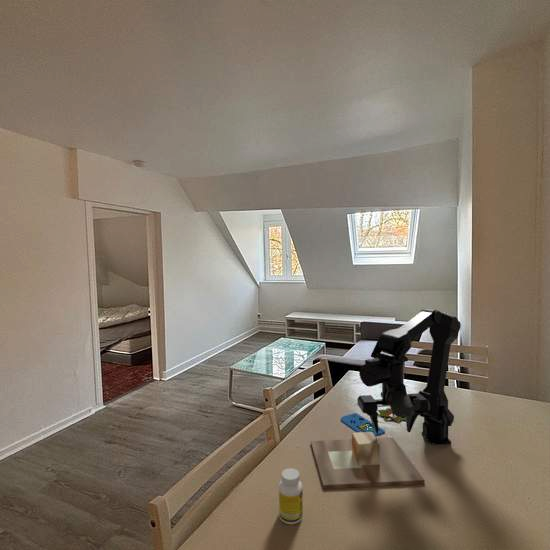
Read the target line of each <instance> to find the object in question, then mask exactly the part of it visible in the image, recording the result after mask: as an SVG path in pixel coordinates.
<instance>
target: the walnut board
mask: <svg viewBox="0 0 550 550" xmlns="http://www.w3.org/2000/svg"><path fill="white" fill-rule="evenodd" d="M376 438H377V437H376ZM377 440H378V441H379V443H380V465H359V466H358V464H357V462H356V460H355V458H354V456H353V453H352V438H351V439H350V438H349V439H347V438H346V439H332V440H331V439H330V440H329V439H328V440H311V441H310V445H311V446H310V447H311V449H312V453H313V456H314V461H315V463H316V467H317V469H318V475H319V478H320V481H321V486H322V488H323V490H329V489H331V490H332V489H349V488H350V489H351V488H366V487H367V488H370V487H387V486H391V487H392V486H407V485H409V486H410V485H425V483H426V482H425V481H426V480H425V479H424V478H423V476H422V474H421V473H420V472H419V471H418V469H417V468H416V467H415V465H414V464H413V463H412V461H411V460H410V458H409V457H408V456H407V454H406V453H405V452H404V450H403V449H402V448H401V446H400V445H399V444H398V442H397V441H396V440H395V438H394V437H378V438H377Z"/></svg>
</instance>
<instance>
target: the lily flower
mask: <svg viewBox="0 0 550 550" xmlns="http://www.w3.org/2000/svg"><path fill="white" fill-rule="evenodd" d="M377 411H378V412H379V413H378V414H379V415H378V417H383V418H384V422H389V421H395V422H397V423H398V424H400V422H401V421H406V416H401V417H398V416H395V415H394V413H393V410H392V408H391V406H387V408H385V409H378V410H377Z"/></svg>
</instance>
